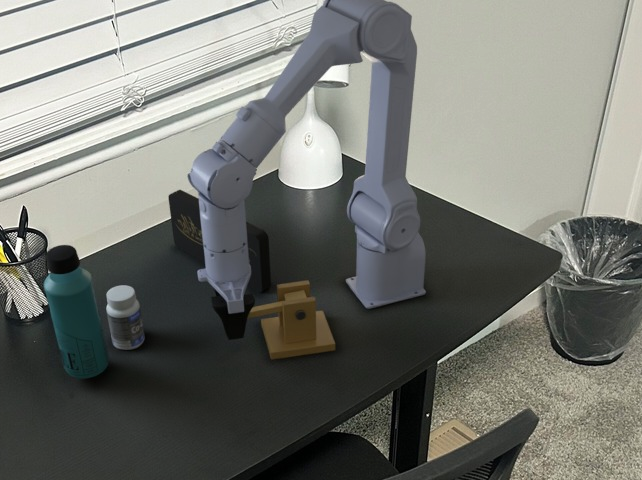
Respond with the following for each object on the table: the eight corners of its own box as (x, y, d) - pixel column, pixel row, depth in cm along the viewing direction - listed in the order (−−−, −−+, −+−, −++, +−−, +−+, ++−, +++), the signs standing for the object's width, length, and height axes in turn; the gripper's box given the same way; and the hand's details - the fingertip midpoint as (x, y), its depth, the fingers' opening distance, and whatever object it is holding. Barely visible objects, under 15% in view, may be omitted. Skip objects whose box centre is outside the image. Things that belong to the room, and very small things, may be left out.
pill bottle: (140, 351, 130) (132, 303, 125) (108, 350, 131) (99, 302, 125) (148, 331, 133) (141, 283, 128) (117, 330, 134) (108, 282, 129)
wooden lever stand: (271, 359, 126) (268, 314, 121) (261, 325, 132) (258, 280, 127) (335, 350, 126) (335, 304, 121) (322, 316, 132) (322, 271, 128)
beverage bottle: (118, 361, 128) (95, 239, 116) (99, 392, 124) (73, 267, 111) (77, 355, 130) (49, 234, 118) (56, 385, 126) (25, 262, 113)
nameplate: (271, 289, 139) (268, 232, 133) (262, 294, 138) (258, 237, 132) (183, 241, 152) (176, 187, 146) (174, 246, 151) (167, 192, 145)
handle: (232, 335, 124) (229, 321, 123) (227, 313, 128) (224, 300, 127) (311, 318, 124) (309, 304, 123) (303, 297, 128) (301, 283, 127)
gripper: (188, 217, 123) (198, 299, 132) (200, 275, 112) (210, 361, 121) (240, 210, 124) (246, 292, 132) (257, 267, 112) (263, 354, 121)
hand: (232, 325), depth 126 cm, fingers closed on handle, 5 cm apart
